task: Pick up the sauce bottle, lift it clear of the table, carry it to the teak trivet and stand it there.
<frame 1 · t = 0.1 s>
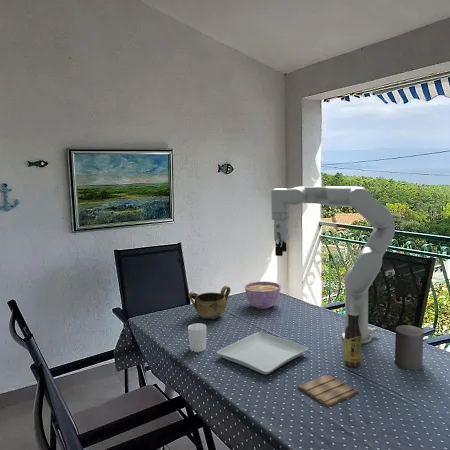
hand: (281, 253, 188), 37 cm above the table, tool pointing down, fingers open, 9 cm apart
ceramic bowl: (211, 317, 217), on the table
white cup: (198, 349, 179), on the table
square plate: (262, 358, 169), on the table
bowl of food: (263, 306, 230), on the table
sauce bottle: (352, 364, 160), on the table
trivet: (327, 390, 141), on the table
pillar candle: (408, 365, 157), on the table
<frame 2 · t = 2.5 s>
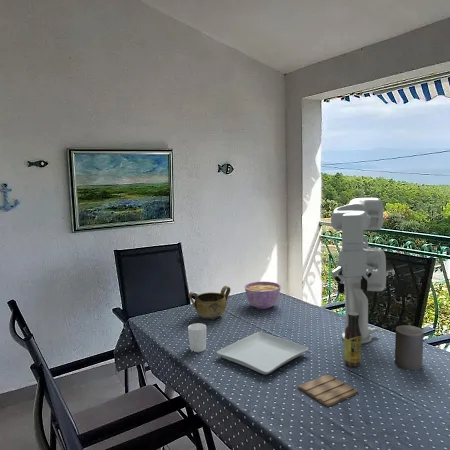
hand: (352, 291, 156), 29 cm above the table, tool pointing down, fingers open, 9 cm apart
nothing on the table moved.
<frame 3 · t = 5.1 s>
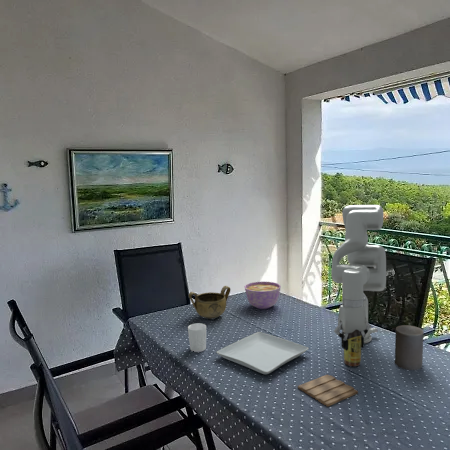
hand: (352, 347, 159), 7 cm above the table, tool pointing down, fingers closed on sauce bottle, 6 cm apart
sauce bottle: (352, 364, 160), on the table, touching gripper
everything else where it was.
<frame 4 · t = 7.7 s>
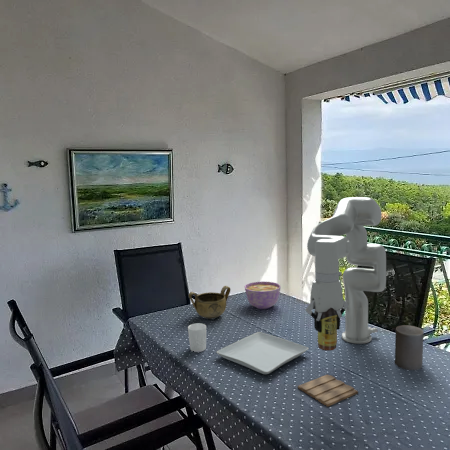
hand: (327, 329, 139), 22 cm above the table, tool pointing down, fingers closed on sauce bottle, 6 cm apart
sauce bottle: (327, 348, 139), point 15 cm above the table, touching gripper
everything else where it was.
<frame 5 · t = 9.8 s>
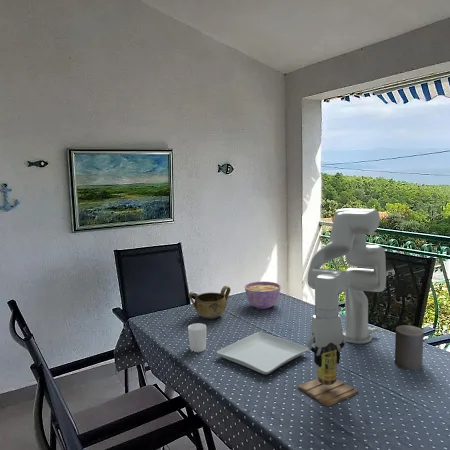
hand: (327, 363, 140), 10 cm above the table, tool pointing down, fingers closed on sauce bottle, 6 cm apart
sauce bottle: (327, 381, 141), point 3 cm above the table, touching gripper
everything else where it was.
when the fingers open (8 cm above the table, at t = 10.8 s): sauce bottle stays where it is, resting on trivet.
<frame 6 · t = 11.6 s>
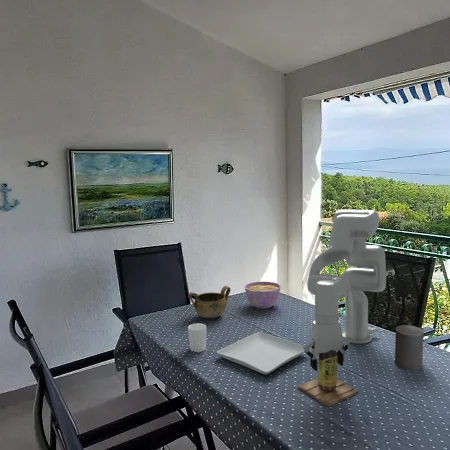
hand: (327, 366, 140), 9 cm above the table, tool pointing down, fingers open, 9 cm apart
sauce bottle: (327, 387, 141), point 1 cm above the table, touching trivet
everything else where it was.
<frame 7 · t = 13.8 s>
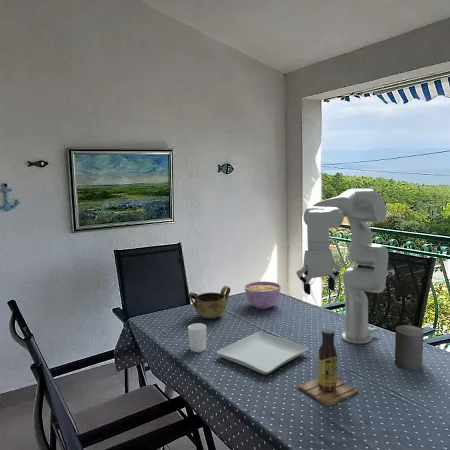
hand: (319, 291, 149), 31 cm above the table, tool pointing down, fingers open, 9 cm apart
nothing on the table moved.
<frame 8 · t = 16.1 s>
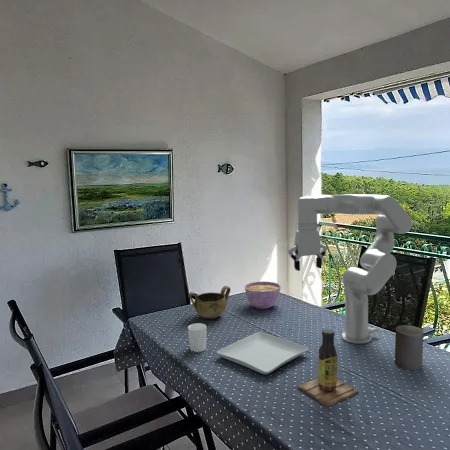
hand: (308, 268, 170), 34 cm above the table, tool pointing down, fingers open, 9 cm apart
nothing on the table moved.
at the end: sauce bottle 0.2 cm from the trivet (horizontally); sauce bottle tilted 0°; the gripper is holding nothing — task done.
